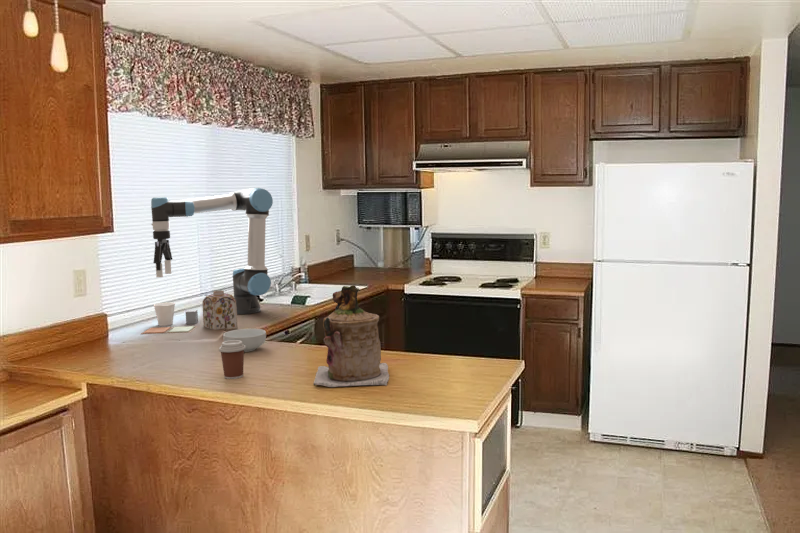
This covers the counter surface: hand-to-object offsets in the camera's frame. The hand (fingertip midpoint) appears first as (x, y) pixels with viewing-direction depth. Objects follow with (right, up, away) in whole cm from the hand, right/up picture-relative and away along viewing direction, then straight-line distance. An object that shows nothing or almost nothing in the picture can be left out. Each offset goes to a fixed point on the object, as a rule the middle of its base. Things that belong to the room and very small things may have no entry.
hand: (164, 275), depth 330 cm
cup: (-1, -25, +4) cm, 25 cm away
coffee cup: (+54, -34, -89) cm, 109 cm away
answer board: (+6, -26, -10) cm, 29 cm away
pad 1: (+1, -25, -11) cm, 27 cm away
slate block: (+11, -24, +7) cm, 27 cm away
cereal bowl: (+49, -29, -48) cm, 75 cm away
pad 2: (+12, -25, -10) cm, 29 cm away
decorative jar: (+28, -25, -4) cm, 38 cm away
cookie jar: (+95, -33, -94) cm, 138 cm away
